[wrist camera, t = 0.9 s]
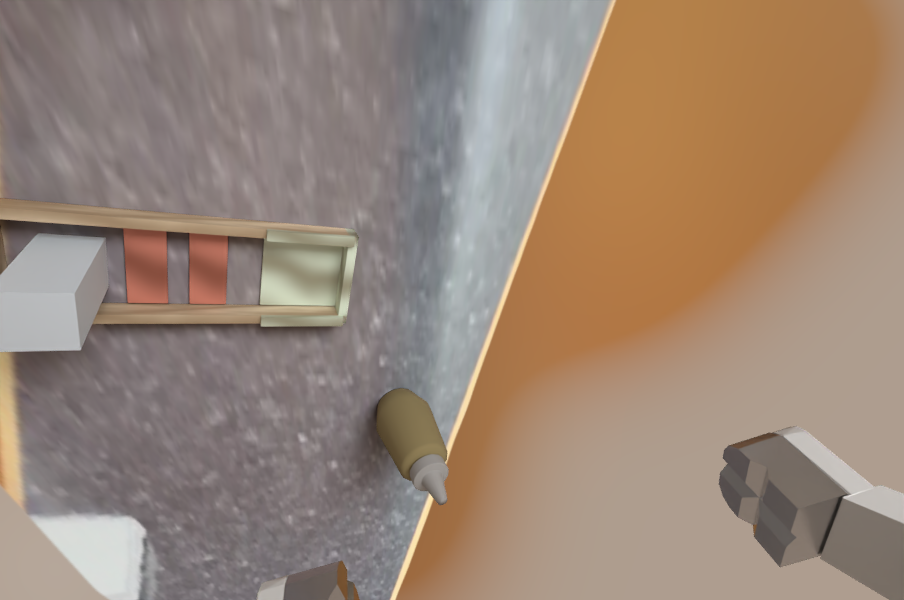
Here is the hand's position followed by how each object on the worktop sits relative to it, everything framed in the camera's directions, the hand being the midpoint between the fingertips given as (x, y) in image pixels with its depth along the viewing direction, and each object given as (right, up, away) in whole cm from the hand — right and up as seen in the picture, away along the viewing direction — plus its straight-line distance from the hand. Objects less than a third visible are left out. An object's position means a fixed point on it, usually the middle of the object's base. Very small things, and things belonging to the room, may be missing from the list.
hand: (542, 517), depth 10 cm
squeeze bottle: (-10, -11, +60) cm, 61 cm away
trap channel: (-29, +8, +40) cm, 49 cm away
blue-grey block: (-38, +8, +35) cm, 52 cm away
